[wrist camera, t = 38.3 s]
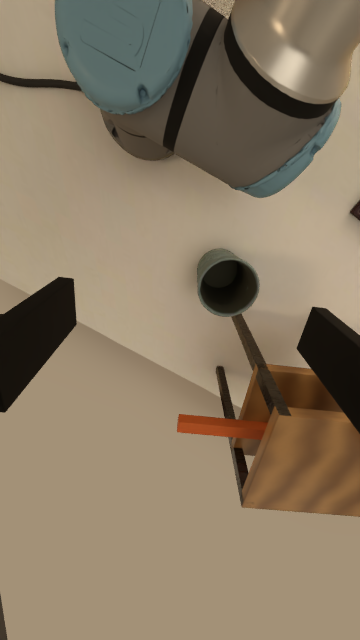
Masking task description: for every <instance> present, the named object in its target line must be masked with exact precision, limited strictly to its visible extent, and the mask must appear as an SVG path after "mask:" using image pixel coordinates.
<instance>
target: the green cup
mask: <svg viewBox="0 0 360 640" xmlns="http://www.w3.org/2000/svg"><path fill="white" fill-rule="evenodd" d="M197 282H198V296H199V299H200V301H201V303H202V305H203V306H204V307H205V308H206V309H207V310H208V311H210V312H211V313H213V314H215V315H218V316H224V317H229V316H235V315H238V314H240V313H242V312H244V311H246V310H247V309H248V308H249V307H250V306H251V305H252V304H253V303H254V301H255V300H256V298H257V295H258V292H259V278H258V275H257V273H256V271H255V269H254V268H253V267H252V266H251V265H249V264H248V263H247V262H245V261H244V260H242V259H240V258H239V257H237V256H235V255H234V254H233V253H231V252H230V251H228V250H225V249H215V250H211V251H209V252H208V253H206V254H205V255H204V256H203V257H202V258H201V260H200V262H199V264H198V268H197Z"/></svg>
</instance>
